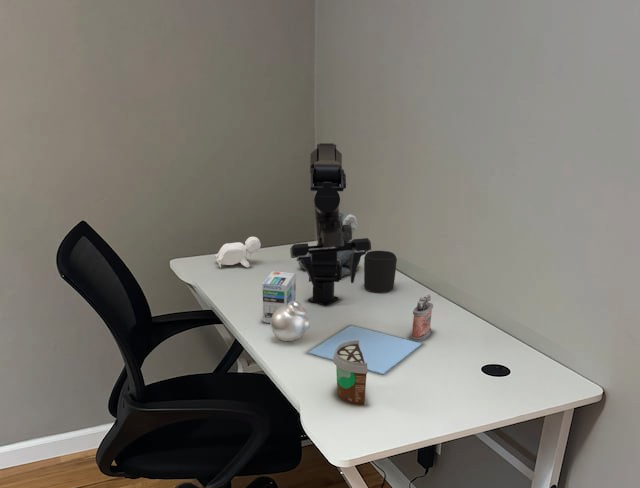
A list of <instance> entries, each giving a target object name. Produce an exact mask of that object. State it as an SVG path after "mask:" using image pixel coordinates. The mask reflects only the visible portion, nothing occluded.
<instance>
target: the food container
mask: <svg viewBox="0 0 640 488" xmlns="http://www.w3.org/2000/svg"><path fill="white" fill-rule="evenodd" d="M332 361H333V365H335V369H336V371H335V373H336V388H337V389H336V391H337V393H336V394H337V397H338V398H339V399H340V400H341V401H343V402H345V403H348V404H351V405H357V406H365V401H366V387H367V374H368V370H367V363H365V362H364V359H363V355H362V352H361V350H360V347H359V340H354V341H348V342H345V343H342V344H340V345H339V346H338V347H337V348H336V350H335V353H334V357H333V360H332Z"/></svg>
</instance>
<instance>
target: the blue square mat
mask: <svg viewBox="0 0 640 488" xmlns="http://www.w3.org/2000/svg"><path fill="white" fill-rule="evenodd" d="M354 340H359V347H360V350H361V352H362V355H363V359H364V362H365V363H367V372H368V371H369V372H372V373H375V374H379V375H384V374H386V373H387V372H388V371H389V370H391V369H392V368H393V367H395V366H396V365H397V364H398V363H400V362H401V361H402V360H404V359H405V358H406V357H408V356H409V355H410V354H411V353H413V352H414V351H415V350H416V349H418V348H419V347H421V345H422V342H419V341H413V340H411V339H410V340H409V339H407V338H402V337H398V336H394V335H390V334H386V333H382V332H378V331H375V330H372V329H371V330H370V329H367V328H362V327H359V326H355V325H349V326H348V327H346V328H344V329H343V330H341V331H340V332H338V333H337V334H335V335H333V336H332V337H330V338H328V339H326V340H325V341H324V342H321V344H319V345H316V347H314V348H312V349H311V350H310V351H308V354H309V355H314V356H317V357H320V358H323V359H327V360H330V361H333V357H334V353H335V350H336V348H337V347H338V346H339V345H340V344H342V343H345V342H348V341H354Z"/></svg>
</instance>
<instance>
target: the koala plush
mask: <svg viewBox="0 0 640 488" xmlns="http://www.w3.org/2000/svg"><path fill="white" fill-rule="evenodd" d="M339 216H340V226H341V228H342V226H343V225H351V229H352V234H353V233H354V232H356V231H357V229H358V226H359V225H358V218H357V217H356V215H353V213H344V212H341V211H339ZM351 241H352V240H344V243H351ZM333 247H339V246H333ZM336 253H337V260H340V264H341V265H342V274H341V278H342V277H345V276H348V275H349V276H350V255H351V254H352V250H348V251H336ZM309 256H311V260H312V254H309ZM297 262H298V266H299V267H300V268H301V269H302V270H304V271H306V269H305V268H304V266H303V264H302V263H301V261H297ZM360 263H361V259H360V260H359V263H358V266H359V265H360ZM335 275H337V274H335Z"/></svg>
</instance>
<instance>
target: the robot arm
mask: <svg viewBox="0 0 640 488" xmlns="http://www.w3.org/2000/svg"><path fill="white" fill-rule="evenodd" d="M309 158H310V159H309V161H310V162H309V169H310V170H309V174H310V192H316V193H315V195H314V198H313V207H314V217H315V218H314V219H315V228H316V239H317V244H316V245H309V242H306V243H293V244H292V246H291V247H290V249H289V253H290V259H296V262H299V261H301V263H302V264H303V266H304V268H305V269H306V270H305V272H306V274H307V276H308V283H309V282H310V283H311V285H312V296H311V297H309V298H308V299H307V301H308V302H311V303H315V304H319V305H324V306H329V305H331V304H332V303H334V302H336V301H338V300H339V296H336V295H335V283H340V281H341V280H342V277H341V274H342V265H341V264H340V260H337V253H336V251H348V250H352V254H351V255H350V275H349V276H350V284H354V283H355V278H356V273H357V269H358V266H359V265H358V263H359V264H360V262H359V260H360V261H361V257H362V256H365V255H366V253H367V252H370V251H372V242H371V240H370V239H369V238H368V237H367V238H366V237H364V238H354V239H353V233H352V229H351V225H343V226H342V228H341V226H340V216H339V212H340V203H341V197H340V193H339V192H344V189H346V188H347V174H346V172H345V170H344V168H343V154H342V152H340V151H339V150H338V149H337V144H336V143H333V142H319V143H317V144H316V148H315V149H314V150H313V151H312V152H310V157H309ZM344 240H350V241H351V243H344ZM333 246H339V247H333ZM309 254H312V260H311V256H309ZM335 274H337V275H335Z"/></svg>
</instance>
